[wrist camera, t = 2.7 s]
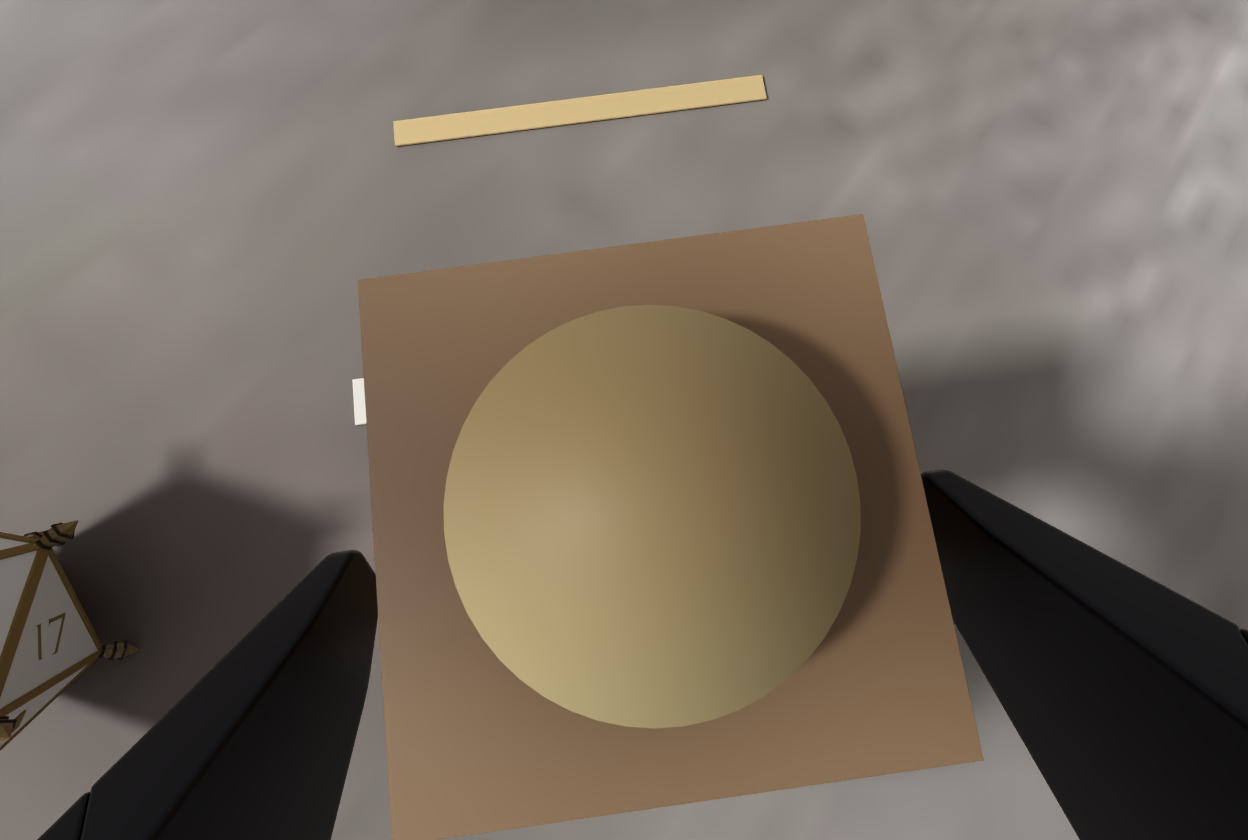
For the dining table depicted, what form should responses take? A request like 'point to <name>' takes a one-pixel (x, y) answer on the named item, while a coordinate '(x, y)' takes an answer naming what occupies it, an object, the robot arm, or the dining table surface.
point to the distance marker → (579, 110)
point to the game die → (41, 628)
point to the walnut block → (649, 532)
